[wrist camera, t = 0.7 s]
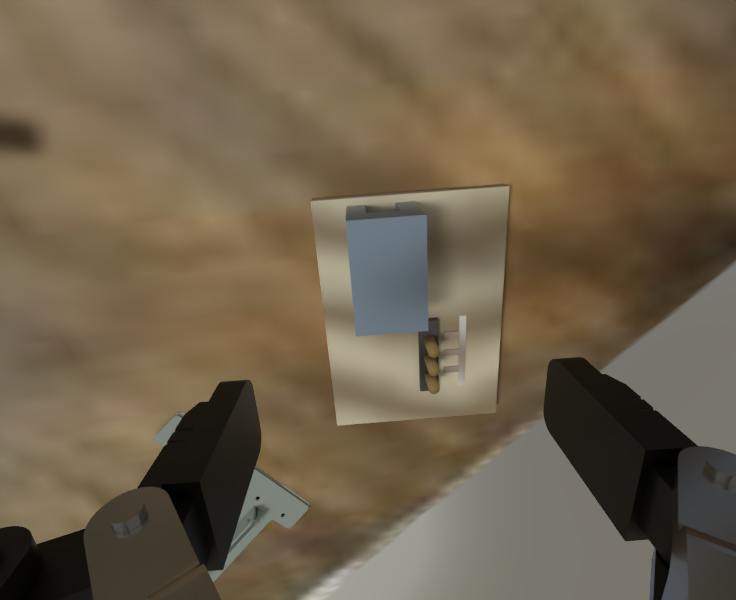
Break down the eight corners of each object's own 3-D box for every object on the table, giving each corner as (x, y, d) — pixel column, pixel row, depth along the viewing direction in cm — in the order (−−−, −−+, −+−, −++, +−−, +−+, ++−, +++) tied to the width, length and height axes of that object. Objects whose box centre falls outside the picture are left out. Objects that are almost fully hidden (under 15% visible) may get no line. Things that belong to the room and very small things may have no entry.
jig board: (312, 198, 27) (306, 207, 24) (503, 184, 27) (524, 190, 24) (337, 416, 34) (336, 447, 31) (490, 403, 34) (506, 433, 31)
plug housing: (346, 206, 26) (345, 220, 22) (413, 201, 26) (426, 214, 22) (355, 304, 29) (355, 336, 24) (416, 300, 29) (428, 330, 24)
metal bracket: (209, 630, 35) (52, 548, 31) (216, 575, 41) (84, 499, 37) (321, 508, 36) (183, 410, 32) (314, 470, 42) (195, 383, 37)
